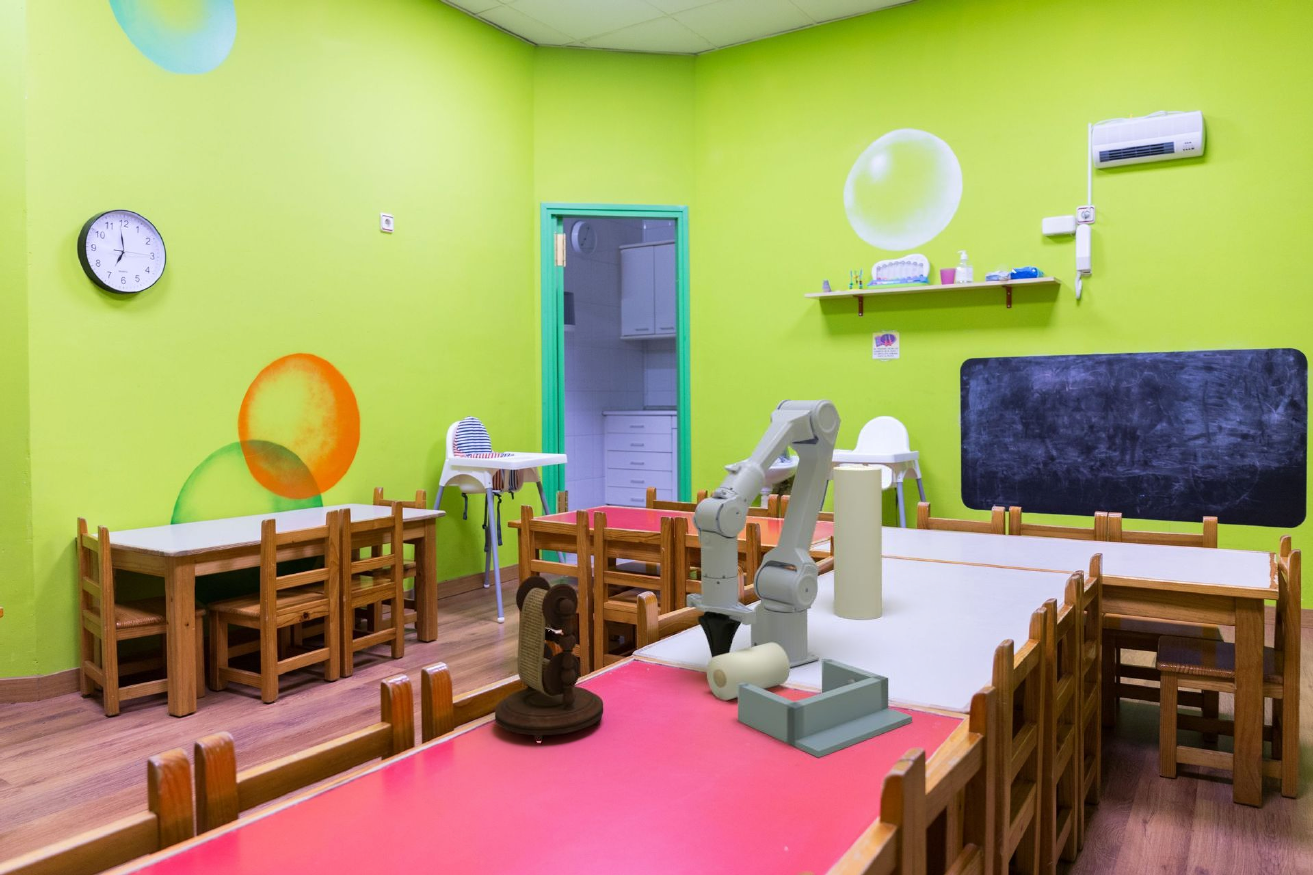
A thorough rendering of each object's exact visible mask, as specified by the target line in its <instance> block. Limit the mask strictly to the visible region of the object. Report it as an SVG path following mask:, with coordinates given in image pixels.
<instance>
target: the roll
mask: <svg viewBox="0 0 1313 875" xmlns="http://www.w3.org/2000/svg"><path fill="white" fill-rule="evenodd" d="M790 672H791V667H790V665H789V660H788V657H787V655H786V653H785V651H784V650H783V648H782V647H781V646H779V645H778V644H776V643H773V642H770V643H766V644H762V645H758V646H754V647H751V646H750V647H747V648H742V649H738V650H735V651H730V652H729V653H727V654H723V655H719V656H715V657H713V658H712V657H711V658H710V660H709V661H708V664H707V667H706V678H707V682H708V685H709V688H710V690H711V691H712V693H713V695H715V697H716V698H718V699H720V700H722V701H729V700H732V699H735V698H738V683H741V682H746V683H749V684H751V685H754V686H756V687H759V688H761V689H764V690H767V689H769V688H773V687H777V686H779V685H783V684H784V683H786V682H787V680H788V679H789V676H790Z"/></svg>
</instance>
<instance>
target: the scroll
mask: <svg viewBox="0 0 1313 875" xmlns="http://www.w3.org/2000/svg"><path fill="white" fill-rule="evenodd" d="M515 602H516V606H517V608H518V610H519V612H520V613H521V614H520V619H519V620H520V621H519V627H518V629H519V630H518V640H517V641H518V643H517V645H518V646H517V647H518V648H517V674H518V677H519V680H520V681H521V682H522V683H523V684H525V685H526V687H525V688H523V689H520V690H518V691H515V692H512V693H511V694H509V695H508V696H507V697H505V698H503V699H502V700H500V701H499V702H498V703H497V704H496V705H495V707H494V720H495V722H496V723H497V725H498V726H499V727H501V728H502V729H504V730H506V731H510V732H512V733H516V734H521V735H529V736H533V737H534V741H535V740H536V741H541V740H542V741H543V738H544V736H551V735H552V736H553V735H561V734H565V733H571V732H576V731H579V730H582V729H585V728H588V727H589V726H591V725H593V724H595V725H596V726H599V725H600V724H601V722H602V718H603V714H604V702H603V699H602V698H601V697H600V696H599V695H598V694H596V693H594V692H592V691H590V690H589V689H586V688H584V687H580V686H576V684H577V682H578V681H579V676H580V673H581V664H580V661H579V659H578V656H576V655H575V654H574V653H573V652H574V649H575V647H576V644H577V641H576V636H574V635H573V630H574V627H573V623H572V621H571V620H572V619H573V618H574V617H575V615H576V612H577V610H578V606H579V598H578V594H577V591H576V590H575V588H574V587H573V586H571V585H570V584H567V583H556V584H555V585H553V586H551V585H550V583H549V582H548V580H547V579H546V578H544V577H543V576H540V575H532V576H529V577H527V578H525V579H524V580H523V581H522V582H521V583H520V585H519V586H518V588H517V591H516V595H515ZM548 630H550V631H549V632H548ZM555 631H561V633H557V632H555ZM547 642H550V643H551V642H552V643H555V644H556V645H558V646H559V647H560V649H561V652H558V653H557V654H554V652H553V649H552V647H550V645H549V644H548V643H547ZM536 741H535V742H536Z"/></svg>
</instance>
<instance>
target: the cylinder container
mask: <svg viewBox="0 0 1313 875" xmlns="http://www.w3.org/2000/svg"><path fill="white" fill-rule="evenodd" d="M832 469H833V470H832V472H833V473H832V474H833V475H832V480H833V486H832V487H833V488H832V489H833V613H834V615H835V616H837V617H840V618H843V619H847V620H861V621H864V620H875V619H878V618H881V617H882V615H883V579H882V578H883V561H882V560H883V550H882V549H883V545H882V544H883V543H882V542H883V540H882V539H883V536H882V533H883V525H882V524H883V523H882V522H883V521H882V519H883V518H882V515H883V514H882V512H883V511H882V509H883V508H882V507H883V505H882V503H883V502H882V499H883V498H882V497H883V496H882V493H883V492H882V486H883V485H882V484H883V483H882V480H883V479H882V477H883V476H882V467H880V466H879V467H878V466H871V465H870V466H869V465H861V464H853V465H846V466H845V465H843V466H834V467H833V468H832Z"/></svg>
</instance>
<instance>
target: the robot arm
mask: <svg viewBox="0 0 1313 875" xmlns="http://www.w3.org/2000/svg"><path fill="white" fill-rule="evenodd" d="M841 421H842V419H841V417H840V414H839V412H838V410H837V407H836V406H835V404H834V403H833V401H831V400H829V399H826V398H824V399H822V398H821V399H819V400H818V399H814V400H811V399H807V400H804V399H801V400H799V399H797V400H796V399H795V400H792V399H783V400H780V402H779V403H777V405H776V407H775V409H774V410H772V412H771V413H770V425H769V426H768V428H767V429H766V431H765V433H764V434H763V435H762V437H761V438H760V441H759V442H758V444H757V445H756V446H755V448H754V450H753V452H752V453H751V454H750V456H749V458H748V460H747V461H739V462H736V463H735V464H732V465H731V467H730V468H729V473H728V474H727V475H726V477H725V478H724V479H723V481H722V482H721V483H720V485H719V486H718V487H716V489H715V490H714V492H713V494H712V495H711V497H707V498H704V499H702V500H701V501H700V502H699V503H698V504H697V506H696V507H695V510H694V515H692V517H691V518H692V520H691V521H692V524H693V527H694V529H695V530H696V531H697V535H698V536H697V537H698V541H699V543H700V570H701V572H700V573H701V574H700V575H701V580H700V581H701V588H700V589H701V590H700V592H701V594H699V593H690V594H687V595H686V607H687V608H695V609H696V610H697V611H700V612H704V613H703V614H702V615H699V616H697V621H698V623H699V625H700V627H701V628H702V630H703V633H704V635H705V637H706V640H707V643H708V646H709V651H710V655H711V658H713V657H715V656H719V655H723V654H727V653H731V647H732V644H733V641H734V638H735V636H736V633H737V631H738V629H739V627H740V626H741V624H742V625H744V626H749V625H750V647H754V646H758V645H762V644H766V643H770V642H773V643H776V644H778V645H779V646H781V647H782V648H783V650H784V651H785V653H786V655H787V657H788V660H789V665H790V668H794V667H797V666H800V665H804V664H807V663H810V662H814V661H818V660H819V659H820V657H819V655H816V654H812V653H810V652H809V650H808V645H809V644H808V641H809V640H808V610H809V609H811V608H812V605H813V604H814V602H815V601H816V599H817V596H818V589H819V588H818V587H819V586H818V576H819V571H820V568H819V565H818V564H817V563H816V562H815V561H814V560H815V559H813V557H811V555H810V550H811V547H812V543H813V538H814V533H815V531H816V527H817V523H818V518H819V514H820V510H821V506H822V502H823V497H824V495H825V491H826V490H825V489H826V485H827V481H828V477H829V473H830V469H831V467H832V466H831V465H832V461H833V456H834V450H835V446H836V442H837V438H838V434H839V430H840V426H841V423H842V422H841ZM789 447H790V448H791V449H792V450H793V451H794V452H796V454H797V457H798V459H799V460H798V463H797V466H796V467H797V468H796V471H795V475H794V478H793V482H792V487H791V489H790V490H791V491H790V495H789V498H788V501H787V502H788V503H787V506H786V510H785V514H784V519H783V522H782V526H781V530H780V534H779V537H778V542H777V545H776V546H775V547H773V548H772V549H771V550H769V551H768V552H766V553H765V554H764V555H763V557H762V562H761V563H760V564H761V565H760V566H759V567H758V569H757V570H756V572H755V574H754V577H753V590H754V592H755V595H756V596H757V598H759V599H760V603H757V605H756V606H755V607H754V609H752V608H750V607H748V606H746V605H744V604H743V603H742V602H740V601H739V574H738V573H739V569H738V568H739V566H738V565H739V564H738V563H739V562H738V560H739V558H738V557H739V555H738V554H739V553H738V552H739V551H738V550H739V549H738V547H739V545H738V544H739V543H738V538H739V537H738V536H739V534H740V533H741V532H742V531H744V529H745V526H746V523H747V516H748V513H749V511H750V510H749V509H750V507H751V505H752V504H753V502H754V501H755V500H756V498H757V497H758V496H759V494H760V493H761V491H762V490H763V489H764V487H765V486H766V482H767V481H766V475H765V474H766V473H767V471H769V469H770V468H771V467H772V466H773V464H775V462H777V460H778V458H780V457H781V455H782V454H783V453H784V452H785V450H786V449H787V448H789ZM790 567H792V568H790ZM795 568H796V569H795Z"/></svg>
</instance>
